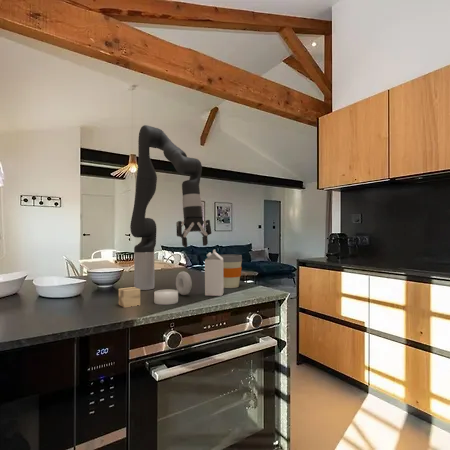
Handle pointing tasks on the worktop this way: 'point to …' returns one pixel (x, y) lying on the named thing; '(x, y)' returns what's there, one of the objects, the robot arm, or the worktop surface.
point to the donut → (187, 285)
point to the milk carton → (214, 275)
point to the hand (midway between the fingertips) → (195, 246)
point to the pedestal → (165, 297)
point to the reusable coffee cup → (231, 270)
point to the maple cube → (129, 297)
